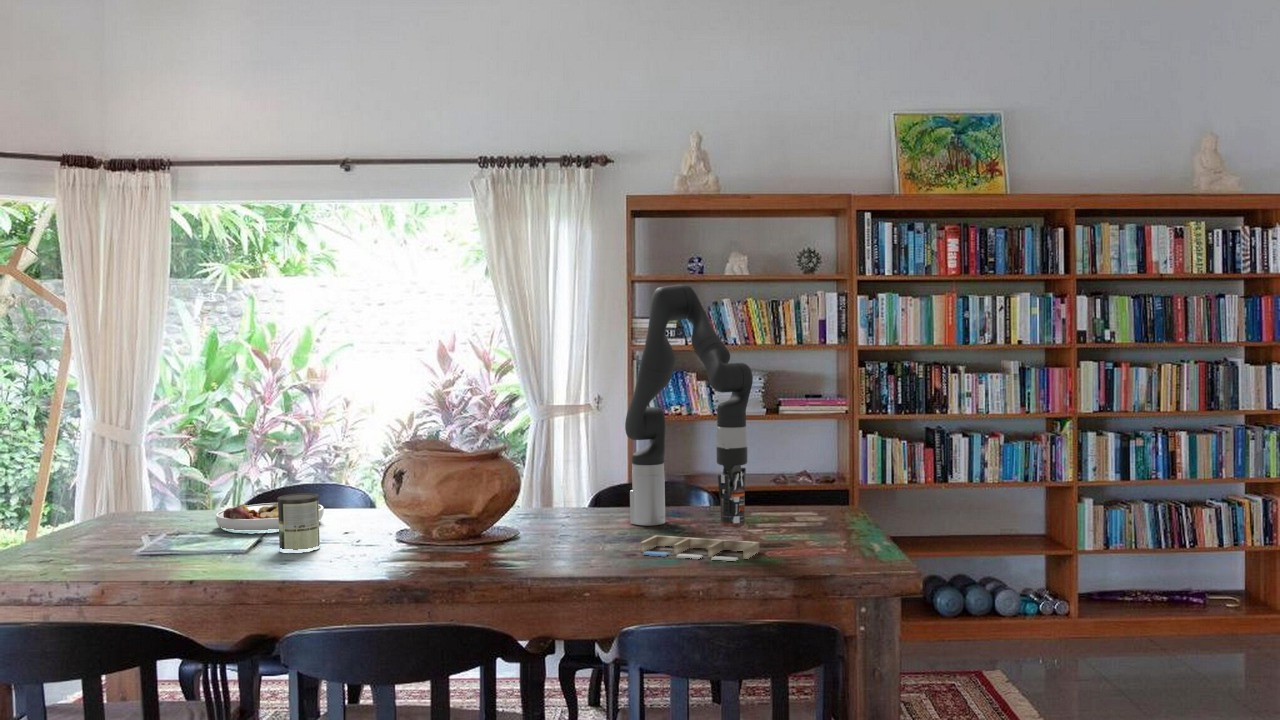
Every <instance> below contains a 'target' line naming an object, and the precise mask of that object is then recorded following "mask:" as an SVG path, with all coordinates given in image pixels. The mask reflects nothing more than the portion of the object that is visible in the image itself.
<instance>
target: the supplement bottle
mask: <svg viewBox="0 0 1280 720" xmlns="http://www.w3.org/2000/svg"><path fill="white" fill-rule="evenodd" d="M740 485H741V480H740V479H738V481H737V486H736V491H735V492H734V494H733V515H731V516H725V515H724V514H723V500H722V499H720V498H719V499H720V502H719V503H720V506H719V507H720V525H721V526H722V527H726V528H740V527H743V526H745V523H746V522H745V521H746V517H745V516H746V514H745V513H746V512H745V511H746V510H745V509H746V507H745V505H746V504H745V503H746V501H745V500H746V499H745V497H746V496H745V493H746V492H745V491H744V489H743V488H741V486H740ZM722 492H723V490H722ZM726 494H727V491H726Z"/></svg>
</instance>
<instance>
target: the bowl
mask: <svg viewBox="0 0 1280 720" xmlns="http://www.w3.org/2000/svg"><path fill="white" fill-rule="evenodd" d="M318 507H319V520H320V521H321V519H322V518H323V516H324V511H325V510H324V506H323V505H322V504H319V503H318ZM215 521H216V524H217V526H218V527H219V528H220V527H222V528H226V529H234V530H268V529H279V516H278V502H269V503H267V502H266V503H257V504H256V503H255V504H249V505H248V504H247V505H246V504H243V503H241V504H240V505H237V506H236V507H228V508H226V509H223V510H219V511H218V512H217V513H215Z"/></svg>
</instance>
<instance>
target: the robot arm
mask: <svg viewBox="0 0 1280 720" xmlns="http://www.w3.org/2000/svg"><path fill="white" fill-rule="evenodd" d="M685 319H687V320H688V321H689V322H690V323H691V324H692V326H693V327H692V334H691V345H692V348H693V350H694V352H695V354H696V355H697V357H698V358H699V360H700V361H701V362H702V364H703V365H704V368H705V371H706V375H707V378H708V383H709V386H711V388H712V389H713V390H715V391H716V392H718V393H722V394H723V393H731V394H730V398H729V399H728V400H726V401H724V402H720V403H719V404H718V405H717V408H716V409H717V410H716V416H717V417H716V418H717V419H716V421H717V423H716V426H717V427H716V435H715V437H716V445H715V446H716V464H717V465H719V466H722V467H723V469H722V472H721V474H718V476H717V481H718V497H719V499H722V500H723V514H724V515H725V516H731V515H733V494H734V492H735V491H736V486H737V481H738V479H740V480H741V485H740V486H741V488H743V489H744V492H745V491H746V472H747V470H746V469H747V468H746V467H742V466H746V465H747V464H748V432H747V407H748V404H749V403H748V402H749V399H750V394H751V391H752V386H753V381H754V379H753V373H752V369H751V368H750V366H749V365H748V364H746V363H745V362H744V363H743V362H732V363H730V360H731V353H730V351H729V350H728V348H727V345H725V343H724V342H723V341H722V340H721V338H720V337H719V336H718V334H717V333H716V331H715V330H714V329H713V328H714V327H713V326H712V325H711V323H710V320H709V318H708V315H707V313H706V312H705V309H704V308H703V305H702V302H701V301H700V298H699V297H698V295H697V293H696V291H695V290H694V289H693V287H691V286H690V285H688V284H674V285H666V286H660V287H659V286H658V287H657V288H656V289H655V290H654V292H653V295H652V298H651V303H650V310H649V319H648V327H647V333H646V338H645V343H644V348H643V351H642V355H641V359H640V365H639V369H638V373H637V379H636V382H635V383H636V384H635V388H634V391H633V395H632V398H631V400H630V403H629V406H628V408H627V409H628V410H627V413H626V416H625V423H624V424H625V425H624V426H625V427H624V430H625V434H626V436H627V438H629V439H630V440H632V441H646V440H647V441H648V440H649V442H648V444H647V445H646V446H644V448H642V449H640V450H637V451H635V452H633V454H632V456H631V471H632V472H631V473H632V475H631V476H632V489H631V490H630V491H629V511H630V513H629V516H630V517H629V518H630V524H632V525H636V526H646V527H647V526H658V525H659V526H660V525H665V523H666V495H665V494H666V491H665V489H666V488H665V487H666V486H665V484H666V483H665V452H666V451H665V450H666V448H665V447H666V445H665V444H666V443H665V442H666V416H665V412H664V411H663V409H662V408H661V407H658V406H649V405H650V404H651V401H652V400H654V398H655V397H657V396H658V395H659V394H660V393H661V392H662V391H663V390H664V389H665V388H666V387H667V386H668V385H669V383H670V381H671V379H672V376H673V372H674V368H675V364H676V354H675V352H674V349H673V347H672V345H671V343H670V342H669V339H668V338H667V335H666V333H667V331H666V330H667V326H668V324H669V322H671V321H673V322H674V321H680V320H685ZM722 490H723V492H722ZM726 491H727V494H726Z"/></svg>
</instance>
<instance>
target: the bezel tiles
mask: <svg viewBox="0 0 1280 720" xmlns="http://www.w3.org/2000/svg"><path fill="white" fill-rule="evenodd" d="M644 555H649V556H648V557H658V556H661V557H662V558H666V557H668V556H669V555H670V553H669V552H665V551H663V552H662V551H651V550H648V551H646V552H644V553H643V552H642V556H644ZM667 555H668V556H667ZM675 556H676V559H685V558H690V560H698V559H700V558H701V559H703V558H704V555H703V554H692V553H680V554H678V555H675ZM661 557H660V558H661ZM702 557H703V558H702ZM691 558H692V559H691ZM701 559H700V560H701ZM710 559H711V561H712V560H726V561H736V560H738V561H739V557H736V556H735V557H733V556H722V555H720V556H719V555H715V556H714V557H710ZM726 561H725V562H726ZM736 562H737V561H736Z"/></svg>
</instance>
